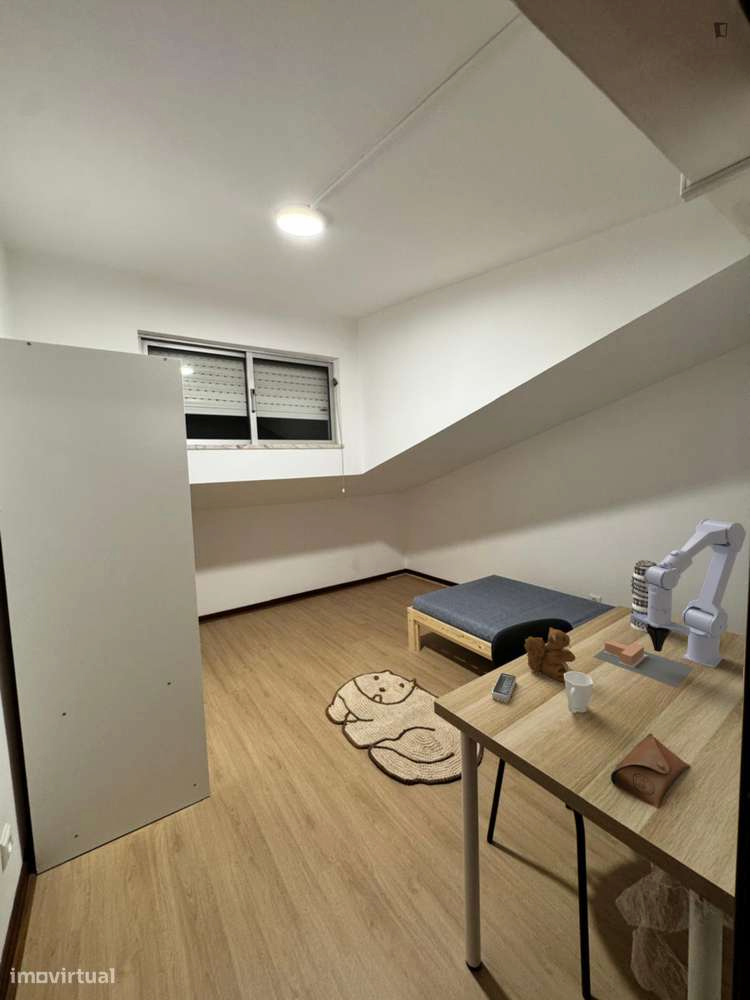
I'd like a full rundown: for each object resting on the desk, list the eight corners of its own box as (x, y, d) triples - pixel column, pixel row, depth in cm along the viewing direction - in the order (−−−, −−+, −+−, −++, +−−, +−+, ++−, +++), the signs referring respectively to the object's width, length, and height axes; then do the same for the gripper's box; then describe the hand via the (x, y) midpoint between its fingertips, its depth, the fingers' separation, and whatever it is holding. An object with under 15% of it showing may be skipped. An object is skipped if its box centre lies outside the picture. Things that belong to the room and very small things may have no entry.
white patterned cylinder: (661, 634, 140) (664, 566, 137) (630, 629, 144) (632, 563, 142) (658, 624, 148) (660, 560, 145) (629, 620, 152) (631, 557, 150)
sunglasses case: (660, 812, 71) (640, 771, 73) (623, 807, 77) (605, 769, 79) (692, 764, 82) (673, 730, 84) (657, 762, 87) (641, 730, 89)
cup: (596, 706, 102) (596, 677, 101) (585, 726, 94) (585, 694, 94) (567, 695, 107) (568, 667, 106) (554, 714, 99) (555, 684, 98)
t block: (613, 645, 133) (613, 636, 132) (643, 655, 125) (644, 646, 125) (599, 654, 127) (600, 646, 126) (631, 665, 119) (631, 656, 119)
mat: (614, 642, 135) (614, 641, 135) (694, 668, 118) (694, 667, 118) (593, 658, 126) (593, 656, 126) (676, 688, 108) (676, 687, 108)
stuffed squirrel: (576, 684, 111) (577, 640, 110) (523, 676, 117) (523, 634, 116) (573, 667, 121) (574, 626, 119) (524, 659, 126) (524, 620, 125)
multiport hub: (491, 699, 107) (491, 691, 106) (500, 679, 116) (500, 672, 116) (508, 704, 104) (508, 696, 104) (516, 683, 114) (516, 676, 113)
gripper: (626, 603, 120) (625, 645, 121) (685, 617, 108) (683, 664, 110) (636, 598, 124) (634, 638, 125) (693, 611, 112) (691, 655, 114)
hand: (658, 650), depth 118 cm, fingers closed
